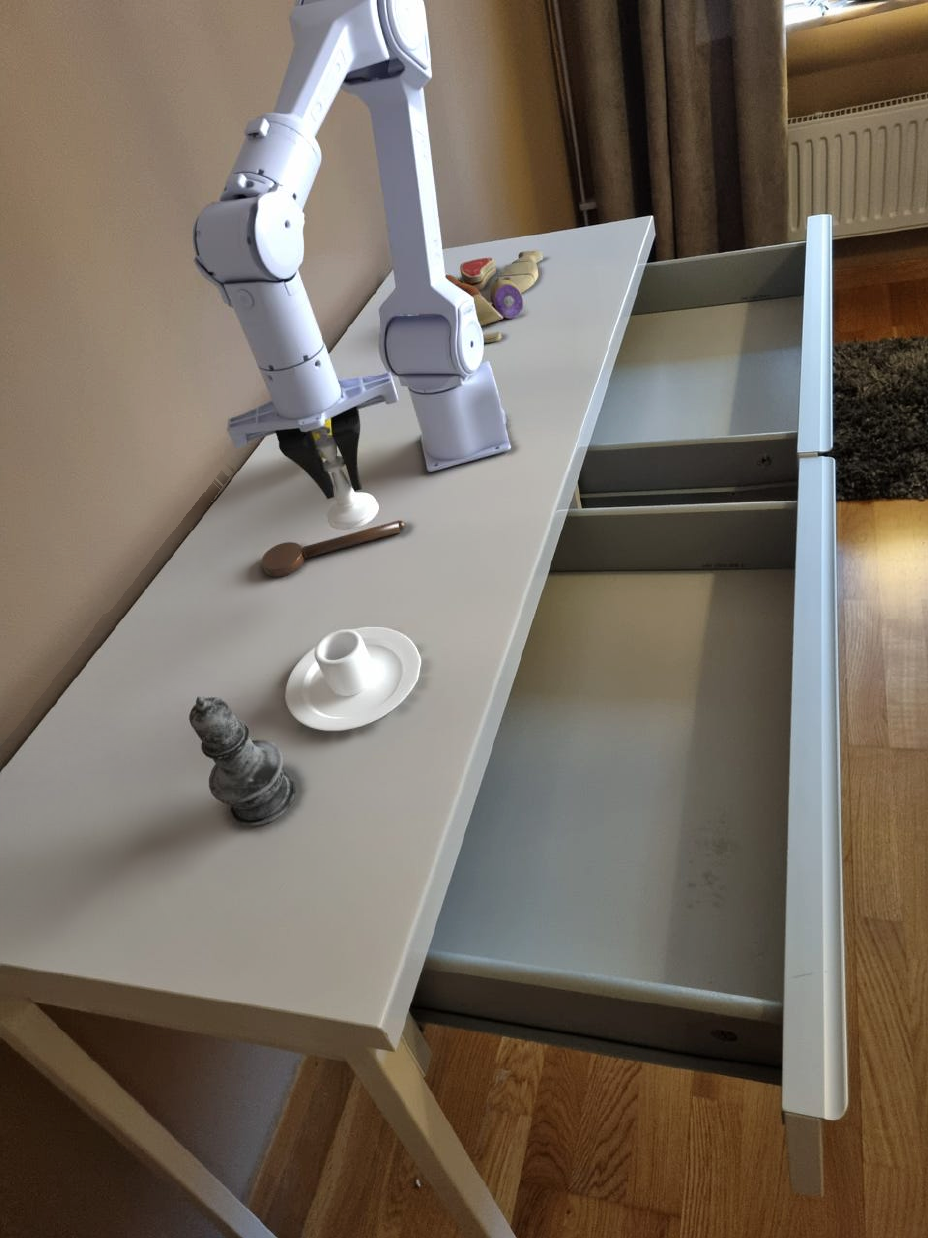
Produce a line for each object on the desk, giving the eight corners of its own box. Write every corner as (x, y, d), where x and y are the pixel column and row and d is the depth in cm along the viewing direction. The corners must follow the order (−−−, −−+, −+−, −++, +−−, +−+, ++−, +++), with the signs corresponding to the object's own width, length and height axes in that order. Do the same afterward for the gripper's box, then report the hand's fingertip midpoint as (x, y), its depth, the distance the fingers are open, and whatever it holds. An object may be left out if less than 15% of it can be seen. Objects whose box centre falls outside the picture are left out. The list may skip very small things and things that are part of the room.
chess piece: (358, 534, 80) (322, 440, 74) (317, 525, 83) (279, 434, 76) (388, 502, 83) (356, 408, 76) (348, 494, 85) (313, 403, 79)
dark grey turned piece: (231, 775, 72) (165, 676, 64) (300, 760, 71) (242, 658, 63) (223, 837, 67) (150, 738, 59) (296, 821, 67) (233, 719, 59)
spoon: (404, 517, 93) (401, 508, 92) (408, 541, 89) (405, 532, 89) (265, 555, 93) (261, 547, 93) (264, 581, 90) (259, 572, 89)
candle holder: (450, 667, 75) (437, 631, 72) (344, 760, 70) (326, 725, 67) (363, 615, 83) (349, 580, 80) (262, 696, 78) (243, 662, 75)
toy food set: (517, 339, 117) (511, 310, 114) (401, 352, 122) (393, 325, 119) (544, 257, 134) (540, 230, 132) (443, 272, 139) (436, 247, 136)
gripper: (202, 400, 69) (267, 535, 78) (380, 348, 69) (424, 490, 78) (208, 361, 74) (268, 492, 83) (373, 312, 74) (416, 449, 83)
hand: (343, 488), depth 81 cm, fingers closed on chess piece
